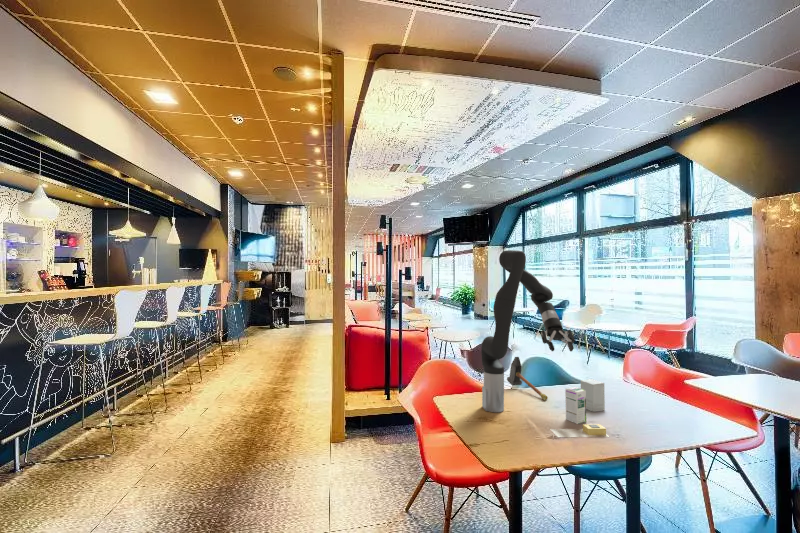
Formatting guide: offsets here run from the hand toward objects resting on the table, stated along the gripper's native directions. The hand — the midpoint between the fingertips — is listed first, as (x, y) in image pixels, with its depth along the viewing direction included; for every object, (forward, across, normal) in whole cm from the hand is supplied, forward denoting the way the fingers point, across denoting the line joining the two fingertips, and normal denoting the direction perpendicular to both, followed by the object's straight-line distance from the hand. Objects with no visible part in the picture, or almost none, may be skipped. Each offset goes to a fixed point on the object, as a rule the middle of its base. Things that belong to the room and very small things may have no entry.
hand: (562, 350), depth 166 cm
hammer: (-2, -4, +43) cm, 43 cm away
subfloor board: (+37, -5, +3) cm, 37 cm away
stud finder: (+36, +1, +2) cm, 36 cm away
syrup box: (+28, 0, +12) cm, 31 cm away
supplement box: (+16, +17, +24) cm, 34 cm away
